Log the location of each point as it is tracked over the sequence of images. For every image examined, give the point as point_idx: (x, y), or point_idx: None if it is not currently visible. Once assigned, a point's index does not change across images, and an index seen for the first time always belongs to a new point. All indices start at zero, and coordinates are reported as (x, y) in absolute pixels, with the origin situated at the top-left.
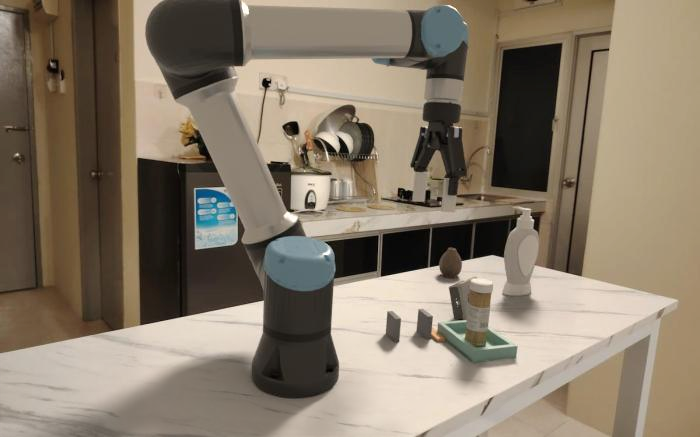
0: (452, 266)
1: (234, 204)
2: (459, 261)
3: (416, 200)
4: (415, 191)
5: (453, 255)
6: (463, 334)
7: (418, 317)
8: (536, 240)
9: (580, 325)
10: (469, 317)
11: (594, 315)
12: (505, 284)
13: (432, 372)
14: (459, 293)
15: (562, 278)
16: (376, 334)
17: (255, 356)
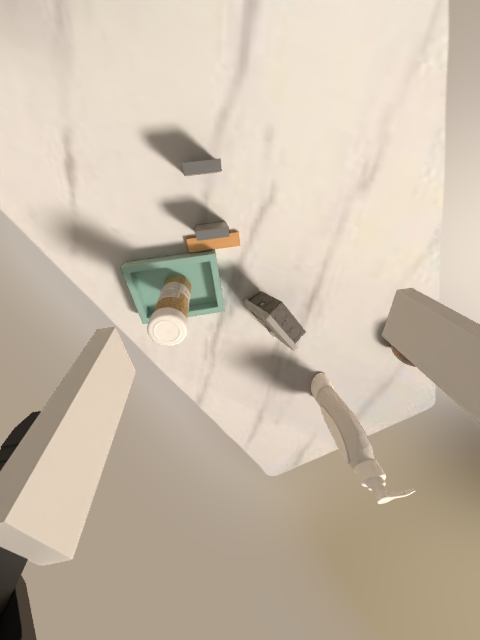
0: None
1: None
2: (404, 360)
3: (395, 304)
4: (435, 318)
5: None
6: (203, 281)
7: (224, 225)
8: (343, 457)
9: (227, 402)
10: (168, 288)
11: (249, 421)
12: (327, 382)
13: (86, 192)
14: (261, 309)
15: None
16: (214, 140)
17: None
